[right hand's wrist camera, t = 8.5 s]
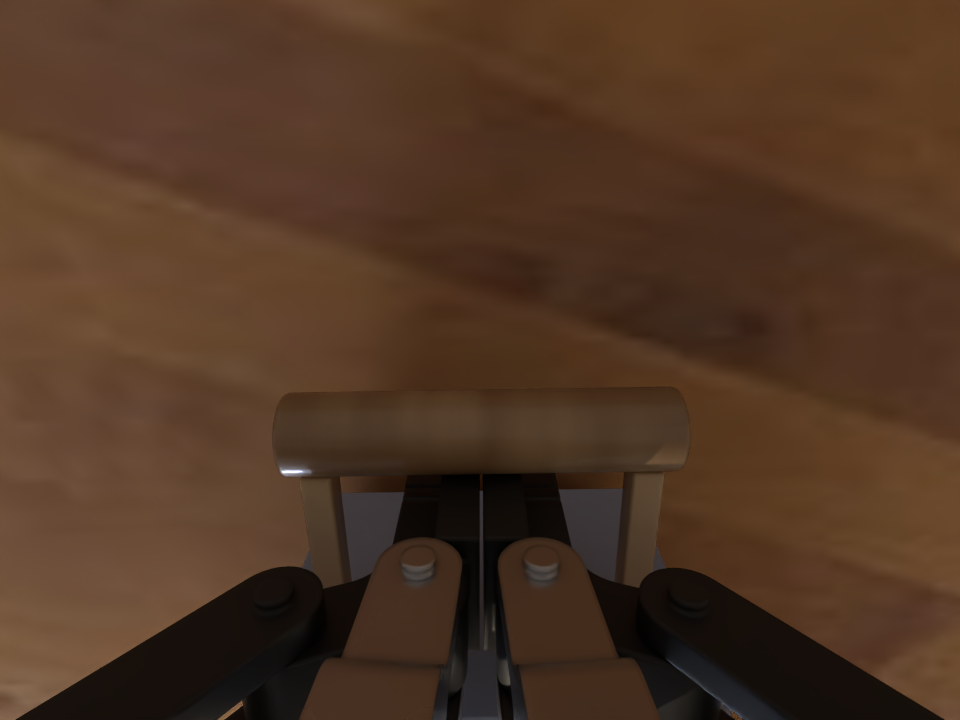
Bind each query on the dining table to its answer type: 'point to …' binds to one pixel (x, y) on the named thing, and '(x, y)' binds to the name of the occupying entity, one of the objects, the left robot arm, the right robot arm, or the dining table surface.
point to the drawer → (483, 450)
